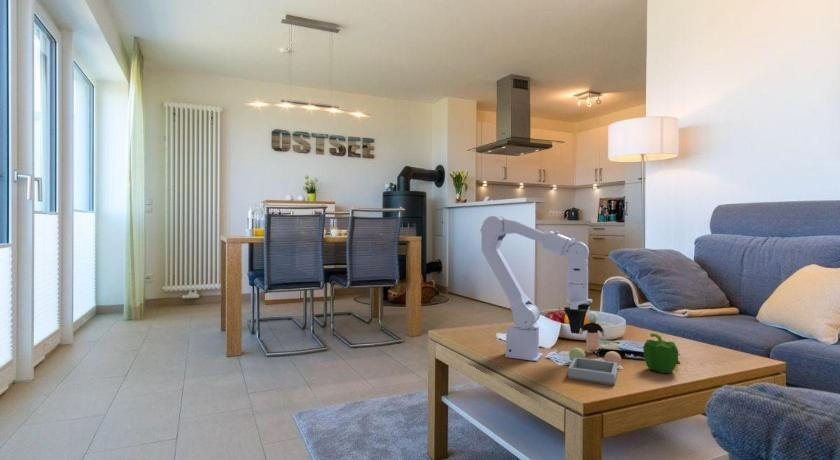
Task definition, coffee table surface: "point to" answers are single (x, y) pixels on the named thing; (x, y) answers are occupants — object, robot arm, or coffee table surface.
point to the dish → (593, 371)
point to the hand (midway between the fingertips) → (577, 330)
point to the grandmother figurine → (592, 332)
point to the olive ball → (576, 353)
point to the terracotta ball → (613, 357)
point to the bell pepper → (660, 354)
